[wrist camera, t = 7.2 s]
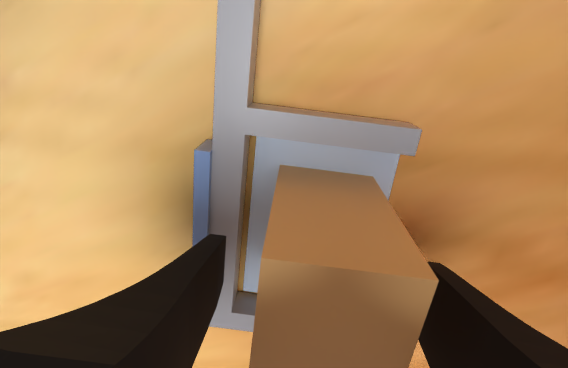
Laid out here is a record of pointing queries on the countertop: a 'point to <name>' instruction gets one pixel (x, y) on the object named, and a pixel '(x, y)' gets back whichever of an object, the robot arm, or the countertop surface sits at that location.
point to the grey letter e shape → (271, 156)
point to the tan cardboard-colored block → (337, 277)
